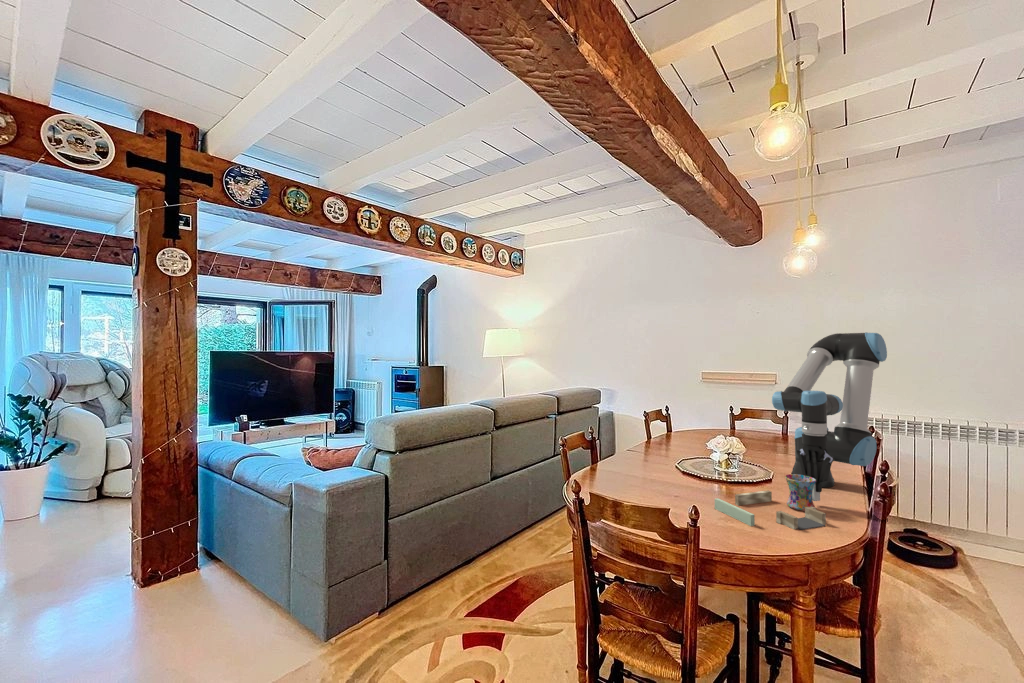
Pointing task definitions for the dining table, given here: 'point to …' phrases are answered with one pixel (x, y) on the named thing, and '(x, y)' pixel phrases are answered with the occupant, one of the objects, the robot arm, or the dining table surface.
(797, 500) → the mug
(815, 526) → the plate
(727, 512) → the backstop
